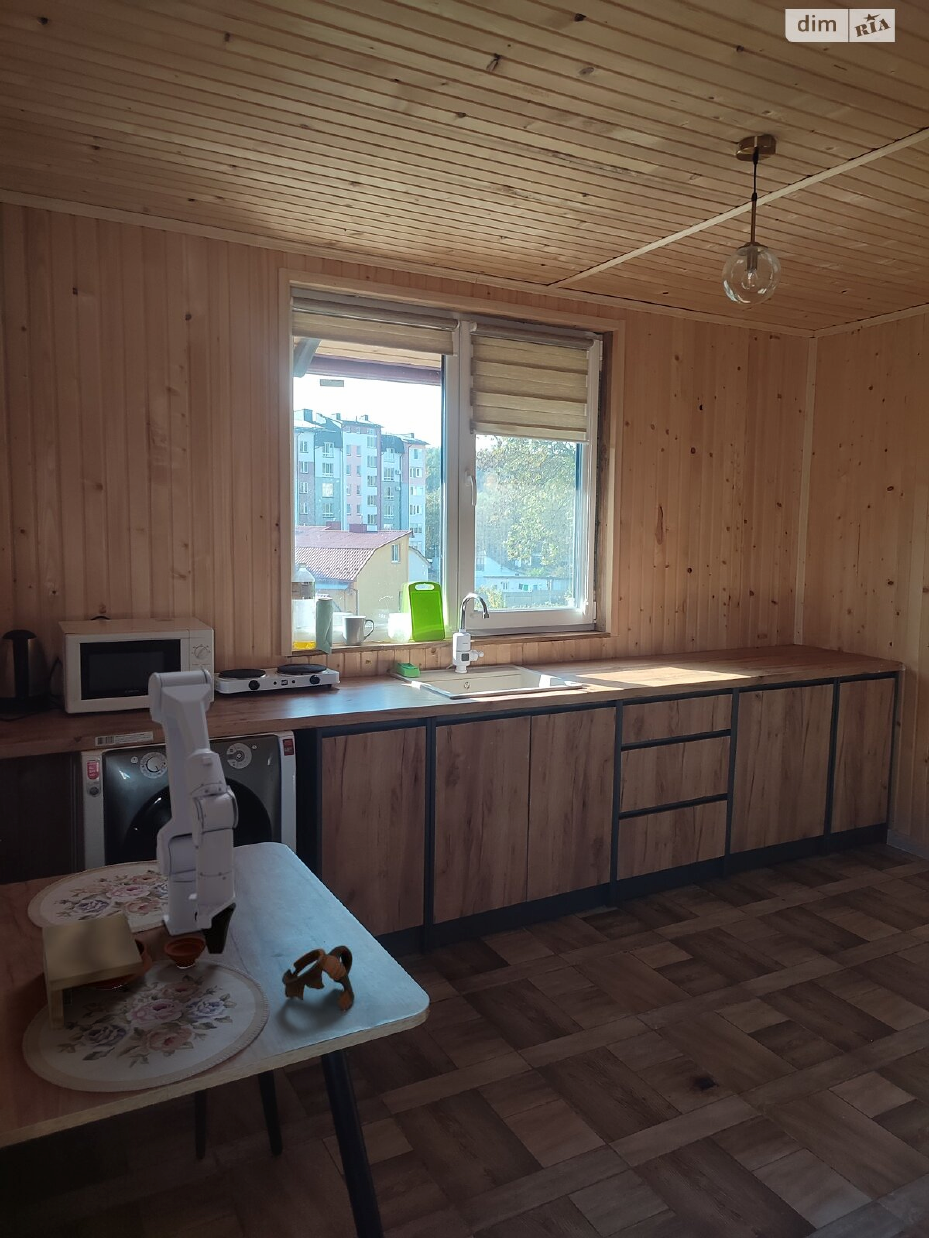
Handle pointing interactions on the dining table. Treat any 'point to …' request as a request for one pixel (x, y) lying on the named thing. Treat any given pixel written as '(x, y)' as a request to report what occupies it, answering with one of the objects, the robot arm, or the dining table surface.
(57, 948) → the low shelf
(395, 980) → the dining table surface
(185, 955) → the pottery
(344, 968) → the broken clay jug rim
